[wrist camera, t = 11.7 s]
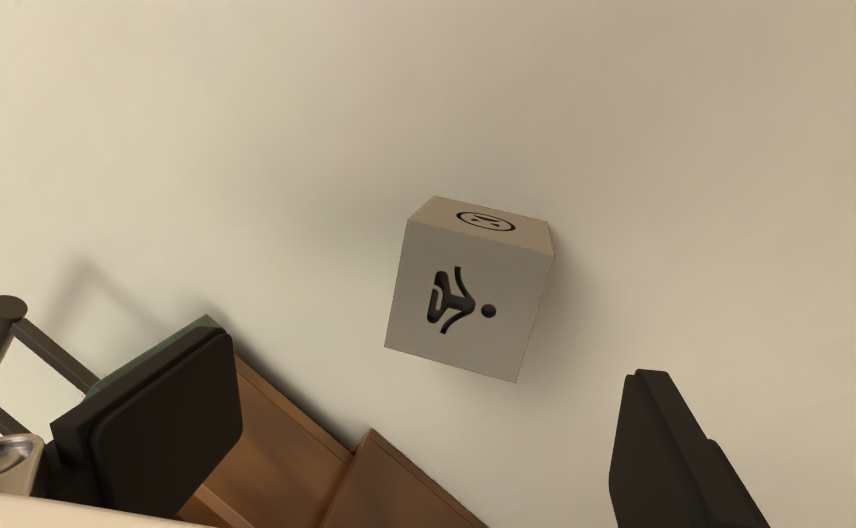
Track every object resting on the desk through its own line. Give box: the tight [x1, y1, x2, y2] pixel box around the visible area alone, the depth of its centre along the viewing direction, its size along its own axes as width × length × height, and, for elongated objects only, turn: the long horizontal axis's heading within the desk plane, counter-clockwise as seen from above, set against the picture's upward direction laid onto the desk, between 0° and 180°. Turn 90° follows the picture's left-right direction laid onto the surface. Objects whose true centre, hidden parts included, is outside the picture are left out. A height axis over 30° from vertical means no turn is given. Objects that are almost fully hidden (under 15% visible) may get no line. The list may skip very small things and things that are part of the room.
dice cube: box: [384, 196, 555, 383], centre depth 18 cm, size 5×5×5 cm
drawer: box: [0, 295, 354, 528], centre depth 23 cm, size 21×13×7 cm, turn 49°
